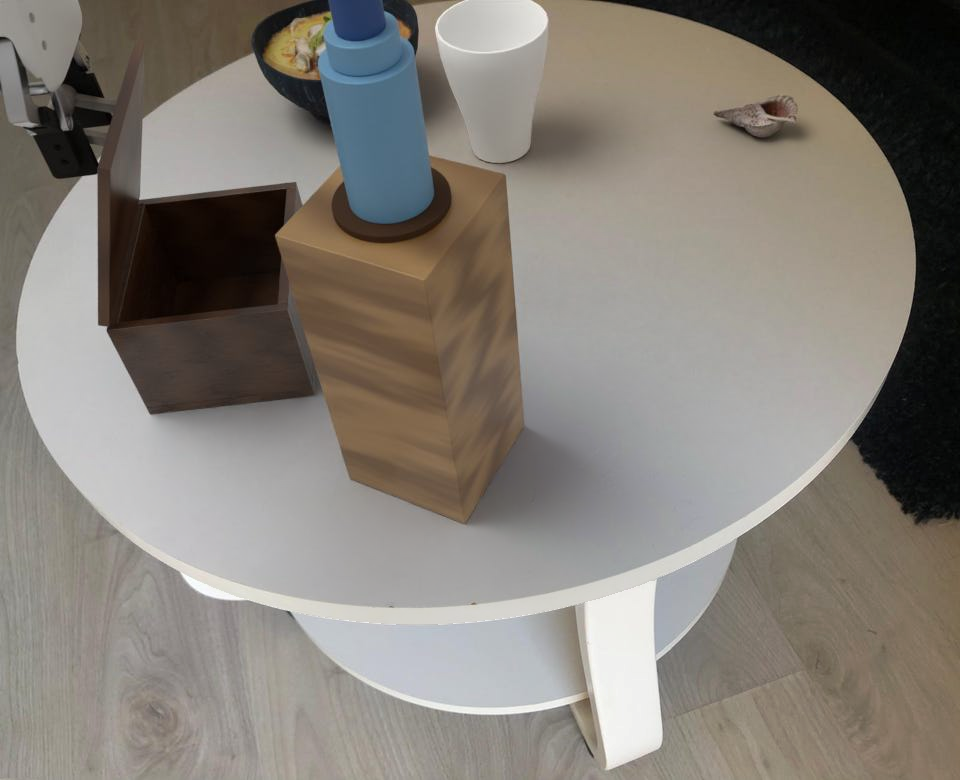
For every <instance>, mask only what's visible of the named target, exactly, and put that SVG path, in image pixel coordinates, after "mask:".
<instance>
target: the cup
mask: <svg viewBox="0 0 960 780" xmlns="http://www.w3.org/2000/svg"><path fill="white" fill-rule="evenodd" d="M549 24H550V20H549V17H548V13H547V12H546V11H545V10H544V8H543V7H542V6H541V5H540V4H538V3H537V2H535V1H533V0H462V1H460V2H458V3H456V4H453V5H452V6H450V7H449V8H447V9H446V10H444V11H443V12H442V14H441V15H440V16H439V17H438V18H437V20H436V23H435V26H434V30H435V37H436V42H437V46H438V47H437V48H438V52H439V57H440V60H441V63H442V66H443V69H444V72H445V75H446V78H447V82H448V84H449V87H450V89H451V91H452V92H451V93H452V94H453V96H454V99H455V101H456V103H457V106H458V108H459V110H460V112H461V115H462V119H463V121H464V124H465V127H466V129H467V134H468V139H469V142H470V148H471V151H472V153H473V154H474V156H475V157H477V158H478V159H479V160H482V161H484V162H488V163H492V164H504V163H510V162H513V161H516V160H518V159H520V158H522V157H524V155H526V154H527V153H528V152H529V150H530V148H531V142H532V129H533V128H532V127H533V119H534V118H533V117H534V114H535V108H536V103H537V100H538V95H539V91H540V87H541V84H542V79H543V74H544V68H545V62H546V57H547V50H548V44H549V26H550V25H549Z"/></svg>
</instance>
